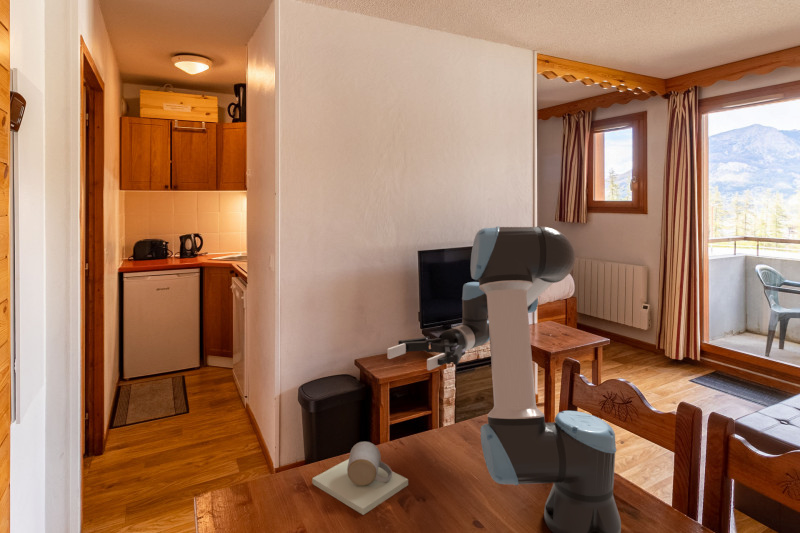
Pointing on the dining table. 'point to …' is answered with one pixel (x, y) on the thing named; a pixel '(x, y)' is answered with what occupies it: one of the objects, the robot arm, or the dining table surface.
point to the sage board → (358, 488)
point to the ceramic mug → (366, 464)
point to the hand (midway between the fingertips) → (407, 359)
